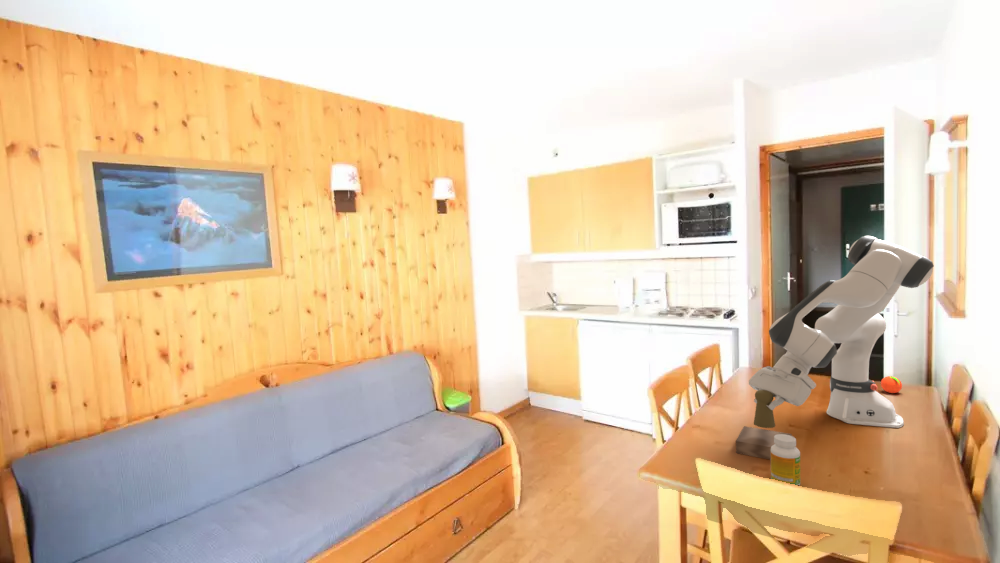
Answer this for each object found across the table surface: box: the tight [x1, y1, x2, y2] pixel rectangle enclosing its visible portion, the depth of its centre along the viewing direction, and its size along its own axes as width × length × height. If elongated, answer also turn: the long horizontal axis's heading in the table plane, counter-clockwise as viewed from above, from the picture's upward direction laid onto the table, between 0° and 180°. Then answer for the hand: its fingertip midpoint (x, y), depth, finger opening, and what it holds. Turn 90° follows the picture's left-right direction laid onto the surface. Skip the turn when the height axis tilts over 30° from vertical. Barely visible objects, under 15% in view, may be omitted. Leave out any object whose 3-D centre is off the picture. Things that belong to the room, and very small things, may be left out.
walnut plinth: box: [735, 426, 793, 461], centre depth 155 cm, size 14×14×4 cm
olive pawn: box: [753, 390, 776, 429], centre depth 154 cm, size 6×6×11 cm
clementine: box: [880, 375, 903, 394], centre depth 200 cm, size 8×7×7 cm
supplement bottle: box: [770, 434, 801, 486], centre depth 134 cm, size 7×7×13 cm
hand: (762, 405), depth 154 cm, fingers closed on olive pawn, 4 cm apart
